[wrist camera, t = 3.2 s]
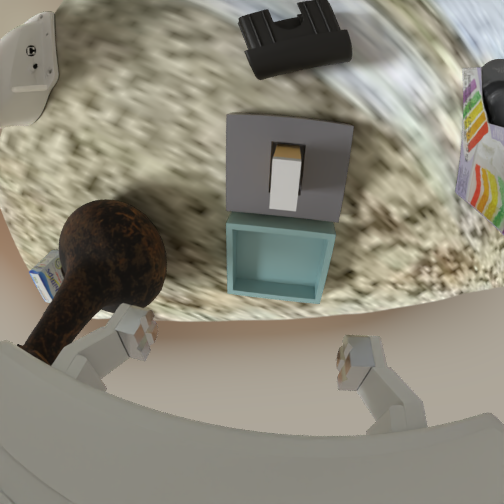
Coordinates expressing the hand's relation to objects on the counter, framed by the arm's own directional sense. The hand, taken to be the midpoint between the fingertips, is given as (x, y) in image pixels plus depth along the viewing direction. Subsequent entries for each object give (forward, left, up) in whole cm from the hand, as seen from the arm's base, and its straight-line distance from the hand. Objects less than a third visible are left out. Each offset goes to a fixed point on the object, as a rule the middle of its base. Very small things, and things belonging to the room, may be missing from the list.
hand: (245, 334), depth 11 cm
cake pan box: (-10, +26, -26) cm, 38 cm away
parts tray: (+13, +1, -26) cm, 29 cm away
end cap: (-15, +1, -26) cm, 30 cm away
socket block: (0, +1, -26) cm, 26 cm away
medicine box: (+22, -44, -26) cm, 56 cm away
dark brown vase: (+13, -23, -26) cm, 37 cm away
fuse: (0, +1, -25) cm, 25 cm away
